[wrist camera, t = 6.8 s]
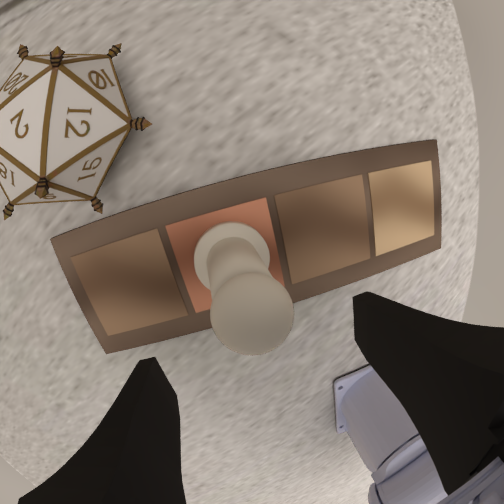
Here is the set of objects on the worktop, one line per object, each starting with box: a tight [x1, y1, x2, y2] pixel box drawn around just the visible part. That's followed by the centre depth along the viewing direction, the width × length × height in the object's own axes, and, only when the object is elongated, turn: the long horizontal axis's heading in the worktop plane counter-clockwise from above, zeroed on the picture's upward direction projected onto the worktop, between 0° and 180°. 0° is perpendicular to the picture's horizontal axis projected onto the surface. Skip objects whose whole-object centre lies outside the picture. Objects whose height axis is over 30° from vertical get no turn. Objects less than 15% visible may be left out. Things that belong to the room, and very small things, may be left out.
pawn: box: [194, 221, 294, 355], centre depth 14 cm, size 4×4×8 cm
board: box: [50, 140, 441, 354], centre depth 19 cm, size 9×28×1 cm, turn 103°
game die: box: [0, 43, 152, 220], centre depth 10 cm, size 9×8×10 cm
